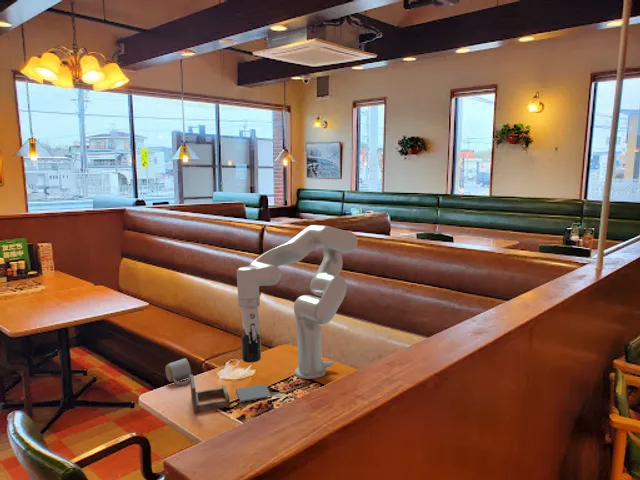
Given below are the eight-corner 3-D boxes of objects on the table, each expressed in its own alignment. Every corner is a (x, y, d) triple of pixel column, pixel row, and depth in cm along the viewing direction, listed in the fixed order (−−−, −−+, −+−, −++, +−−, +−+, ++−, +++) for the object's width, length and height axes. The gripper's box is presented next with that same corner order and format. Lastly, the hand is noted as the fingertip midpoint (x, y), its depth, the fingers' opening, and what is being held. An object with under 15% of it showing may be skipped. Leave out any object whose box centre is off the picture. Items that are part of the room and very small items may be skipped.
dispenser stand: (225, 392, 173) (224, 369, 172) (230, 407, 162) (228, 382, 161) (191, 398, 169) (189, 374, 168) (193, 414, 158) (192, 388, 157)
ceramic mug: (164, 379, 187) (163, 360, 186) (184, 373, 192) (183, 355, 191) (174, 388, 179) (173, 369, 178) (195, 382, 184) (194, 363, 182)
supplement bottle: (257, 363, 166) (256, 330, 164) (239, 362, 167) (237, 330, 166) (263, 356, 173) (262, 324, 171) (246, 355, 174) (244, 324, 172)
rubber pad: (265, 386, 178) (265, 384, 178) (271, 397, 169) (271, 395, 169) (236, 391, 175) (236, 389, 174) (240, 402, 165) (240, 400, 165)
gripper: (264, 306, 160) (266, 356, 163) (254, 295, 177) (256, 341, 179) (242, 308, 158) (245, 360, 160) (234, 297, 174) (237, 343, 176)
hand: (251, 349), depth 169 cm, fingers closed on supplement bottle, 6 cm apart
